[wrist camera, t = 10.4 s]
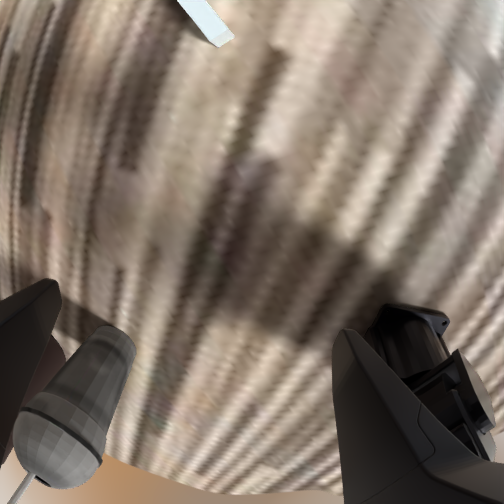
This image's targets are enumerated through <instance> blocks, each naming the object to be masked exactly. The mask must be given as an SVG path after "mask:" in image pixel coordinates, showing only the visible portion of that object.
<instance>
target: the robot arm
mask: <svg viewBox="0 0 504 504" xmlns="http://www.w3.org/2000/svg"><path fill="white" fill-rule="evenodd" d="M61 305H62V299H61V294H60V290H59V285H58V282H57V281H56V280H54V279H49V278H45V279H43V280H41V281H39V282H37V283H35V284H33V285H31V286H29V287H27V288H25V289H23V290H21V291H19V292H17V293H15V294H13V295H11V296H10V297H8V298H6V299H4V300H2V301H0V468H1V465H2V461H3V458H4V455H5V451H6V448H7V445H8V441H9V438H10V435H11V433H12V430H13V427H14V424H15V421H16V418H17V416H18V413H19V410H20V408H21V405H22V402H23V400H24V397H25V395H26V392H27V390H28V387H29V385H30V382H31V380H32V378H33V375H34V373H35V371H36V368H37V366H38V364H39V362H40V359H41V357H42V355H43V353H44V351H45V348H46V346H47V344H48V341H49V339H50V336H51V333H52V330H53V327H54V325H55V322H56V319H57V317H58V314H59V311H60V309H61ZM386 310H389V311H388V312H385V311H386ZM444 321H445V322H444ZM449 323H450V320H449V318H448V317H447V316H446V315H441V314H436V313H431V312H427V311H422V310H417V309H412V308H407V307H402V306H398V305H393V304H385V305H383V306H382V308H381V309H380V311H379V313H378V315H377V317H376V319H375V321H374V323H373V325H372V326H371V327H370V328H369V329H368V331H367V333H366V335H365V337H364V339H363V338H362V337H361V336H360V335H359V334H358V333H357V332H356V331H355V330H354V329H345V328H344V329H341V331H340V332H339V334H338V336H337V339H336V341H335V343H334V345H333V347H332V393H333V403H334V411H335V419H336V427H337V435H338V444H339V453H340V463H341V473H342V483H343V495H344V504H504V464H502V463H496V462H494V460H495V454H496V445H495V442H494V440H493V438H492V435H491V433H490V431H489V430H491V429H492V428H494V427H495V426H496V423H495V417H494V412H493V407H492V402H491V398H490V396H489V394H488V392H487V390H486V388H485V386H484V384H483V382H482V380H481V378H480V376H479V375H478V374H477V372H476V371H475V370H474V368H473V367H472V366H471V364H470V363H469V362H468V360H467V359H466V358H465V357H464V355H463V354H462V353H461V351H460V350H459V349H457V350H455V351H454V352H453V353H452V355H450V353H449V351H448V349H447V347H446V344H445V342H444V340H443V338H442V335H443V333H444V332H445V330H446V328H447V327H448V325H449Z"/></svg>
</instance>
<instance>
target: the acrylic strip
mask: <svg viewBox="0 0 504 504" xmlns="http://www.w3.org/2000/svg"><path fill="white" fill-rule="evenodd" d="M177 1H178V2H179V3H180V5H181V6H182V7H183V8H184V10H185V11H186V12H187V13H188V14H189V16H190V17H191V18H192V19H193V21H194V22H195V23H196V24H197V26H198V27H199V28H200V30H201V31H202V32H203V33H204V35H205V36H206V37H207V39H208V40H209V41H210V42H211V43H213V44H214V45H215V46H217V47H218V48H219V47H220V46H222V45H223V44H225V43H226V42H228V41H230V40H231V39H233V38H234V37H235V36H234V35H233V33H232V32H231V31H230V29H229V28H228V27H227V26H226V24H225V23H224V22H223V21H222V19H221V18H220V17H219V16H218V14H217V13H216V12H215V11H214V9H213V8H212V7H211V6H210V5H209V3H208V2H207V1H206V0H177Z"/></svg>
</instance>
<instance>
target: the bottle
mask: <svg viewBox="0 0 504 504" xmlns="http://www.w3.org/2000/svg"><path fill="white" fill-rule="evenodd" d="M65 363H66V358H65V355H64V353H63V350H62V349H61V347H60V345H59V344H58V343H57V342H56V340H55V339H54V338H53V337H52V336H50V339H49V341H48V344H47V346H46V348H45V351H44V353H43V355H42V357H41V359H40V362H39V364H38V366H37V368H36V371H35V373H34V375H33V378H32V380H31V382H30V385H29V387H28V390H27V392H26V395H25V397H24V400H23V402H22V405H21V408H22V407H25V406H26V404H27V403H28V402H29V401H30V400H31V399H32V398H33V397H34V396H35V395H36V394H37V393H40V392H41V391H42V390H43V389H44V388H45V386H46V385H47V384H48V383H49V382H50V380H51V379H52V378H53V377H54V376H55V375H56V373H57V372H58V371H59V370H60V369H61V368H62V366H63V365H64V364H65ZM21 408H20V409H21ZM18 416H19V415H18ZM18 416H17V418H18ZM17 418H16V419H17ZM15 422H16V421H15ZM14 425H15V424H14ZM13 429H14V427H13ZM13 447H14V445H13V430H12V433H11V435H10V438H9V441H8V445H7V448H6V451H5V455H4V458H3V461H2V464H4V462H5V461H6V459H7V457H8V455H9V454H10V452H11V450H12V448H13Z"/></svg>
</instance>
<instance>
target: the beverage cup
mask: <svg viewBox="0 0 504 504" xmlns="http://www.w3.org/2000/svg"><path fill="white" fill-rule="evenodd" d="M135 356H136V348H135V345H134V343H133V342H132V340H131V339H130V338H129V337H128V336H127V335H126V334H125V333H124V332H122V331H121V330H119V329H117V328H115V327H112V326H101V327H98V328H97V329H96V330H95V332H94V333H93V334H92V335H91V336H89V337H88V338H87V339H86V340H85V342H84V343H83V344H82V345H81V346H80V347H79V348H78V349H77V350H76V352H75V353H74V354H73V355H72V356H71V357H70V358H69V360H68V361H67V362H66V363H65V364H64V365H63V366H62V368H61V369H60V370H59V371H58V372H57V373H56V375H55V376H54V377H53V378H52V379H51V380H50V382H49V383H48V384H47V385H46V386H45V388H44V389H43V390H42V391H41V392H40V393H37V394H36V395H35V396H34V397H33V398H32V399H31V400H30V401H29V402H28V403H27V404H26V406H25V407H22V408H21V409H20V410H19V413H18V415H19V416H18V418H17V419H16V422H15V425H14V429H13V445H14V450H15V452H16V455H17V458H18V460H19V462H20V464H21V465H22V467H23V468H24V469H25V471H26V472H27V473H28V474H27V475H26V477H25V478H24V480H23V481H22V483H21V484H20V486H19V487H18V488H17V490H16V491H15V493H14V495H13V496H12V497H11V499H10V500H9V502H8V503H7V504H17V502H18V501H19V500H20V498H21V496H22V495H23V494H24V492H25V491H26V489H27V488H28V486H29V485H30V483H31V482H32V480H33V479H34V478H35V479H36V480H38V481H39V482H41V483H42V484H44V485H46V486H48V487H52V488H56V489H69V488H74V487H77V486H80V485H82V484H83V483H85V482H86V481H88V480H89V479H90V478H91V477H92V476H93V474H94V473H95V471H96V469H97V468H99V467H100V465H101V464H102V455H103V453H104V449H105V444H106V435H107V432H108V429H109V426H110V423H111V420H112V418H113V415H114V412H115V410H116V407H117V404H118V401H119V399H120V396H121V394H122V391H123V388H124V386H125V383H126V380H127V378H128V375H129V373H130V370H131V368H132V363H133V361H134V358H135Z"/></svg>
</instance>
